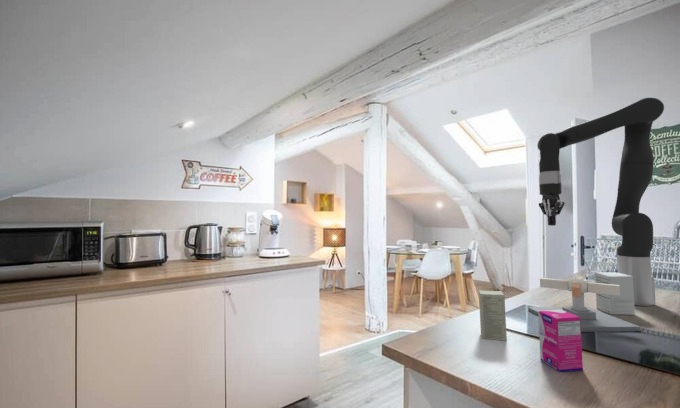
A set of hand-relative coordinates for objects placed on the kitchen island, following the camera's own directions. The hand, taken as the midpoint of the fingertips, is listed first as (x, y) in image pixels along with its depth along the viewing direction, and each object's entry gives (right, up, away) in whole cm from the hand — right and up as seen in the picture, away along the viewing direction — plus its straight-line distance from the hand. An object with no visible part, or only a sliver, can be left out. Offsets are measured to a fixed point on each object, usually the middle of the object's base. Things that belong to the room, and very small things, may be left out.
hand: (552, 225), depth 132 cm
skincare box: (-45, -28, -43) cm, 68 cm away
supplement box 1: (-38, -27, -60) cm, 76 cm away
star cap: (-12, -19, -30) cm, 37 cm away
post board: (-12, -28, -31) cm, 43 cm away
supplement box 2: (+6, -28, -23) cm, 36 cm away
